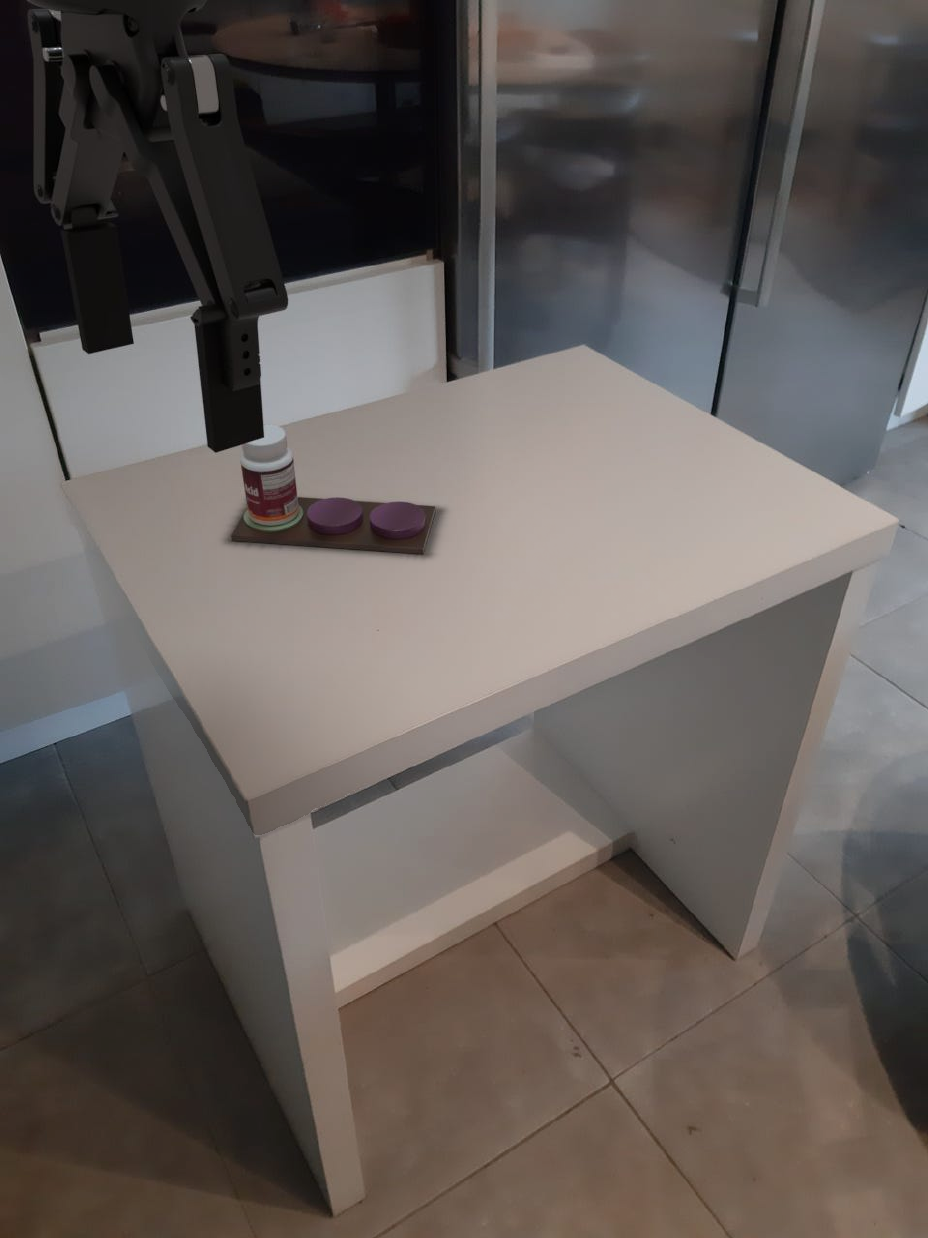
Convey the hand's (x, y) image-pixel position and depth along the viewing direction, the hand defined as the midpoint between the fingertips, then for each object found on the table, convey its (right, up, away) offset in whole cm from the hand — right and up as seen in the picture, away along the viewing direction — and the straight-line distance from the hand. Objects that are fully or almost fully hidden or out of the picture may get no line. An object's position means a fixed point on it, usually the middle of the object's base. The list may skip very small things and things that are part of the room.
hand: (167, 391), depth 52 cm
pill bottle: (-2, -2, +42) cm, 42 cm away
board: (+3, -3, +42) cm, 42 cm away
